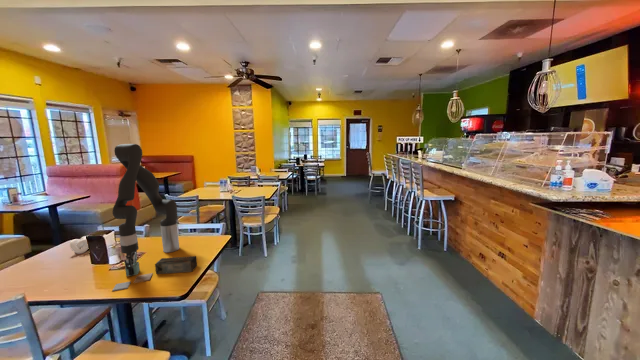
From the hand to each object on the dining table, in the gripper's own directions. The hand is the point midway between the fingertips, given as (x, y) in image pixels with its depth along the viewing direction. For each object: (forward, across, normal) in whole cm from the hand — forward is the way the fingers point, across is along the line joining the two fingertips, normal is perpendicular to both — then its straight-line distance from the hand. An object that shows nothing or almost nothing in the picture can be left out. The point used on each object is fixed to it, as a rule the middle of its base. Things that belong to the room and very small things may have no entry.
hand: (133, 272), depth 145 cm
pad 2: (0, +9, +6) cm, 11 cm away
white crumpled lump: (+1, -48, -39) cm, 62 cm away
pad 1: (0, +14, -2) cm, 14 cm away
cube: (0, 0, 0) cm, 0 cm away
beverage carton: (+1, +5, +22) cm, 22 cm away
